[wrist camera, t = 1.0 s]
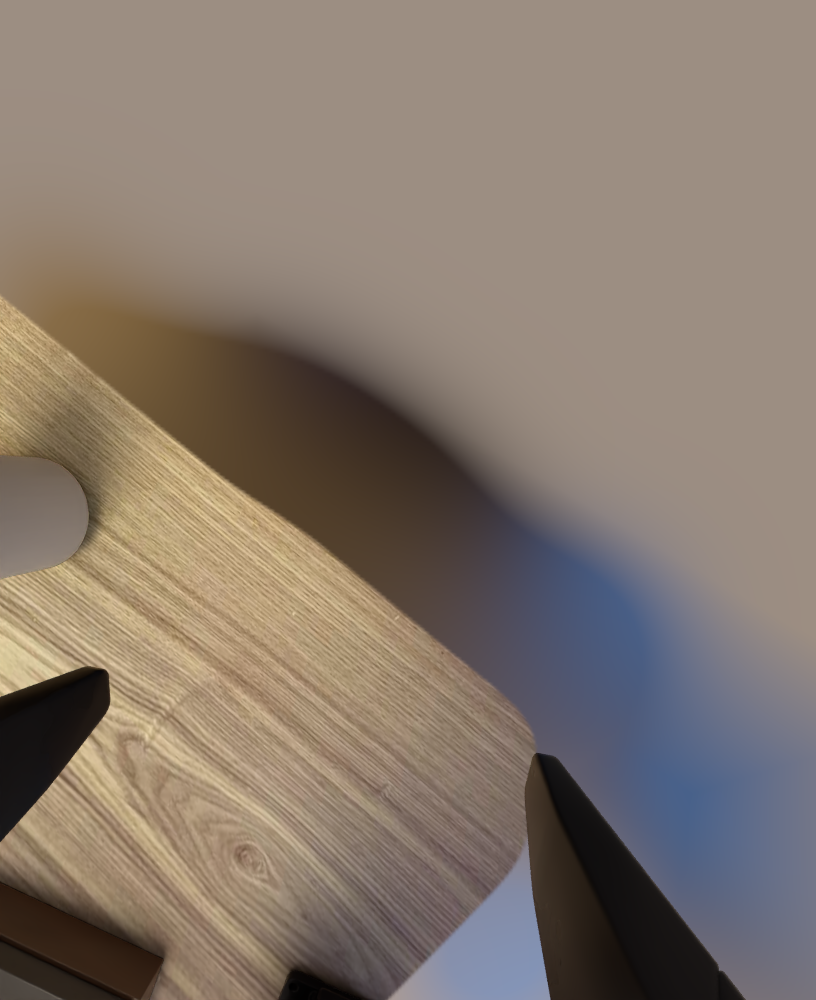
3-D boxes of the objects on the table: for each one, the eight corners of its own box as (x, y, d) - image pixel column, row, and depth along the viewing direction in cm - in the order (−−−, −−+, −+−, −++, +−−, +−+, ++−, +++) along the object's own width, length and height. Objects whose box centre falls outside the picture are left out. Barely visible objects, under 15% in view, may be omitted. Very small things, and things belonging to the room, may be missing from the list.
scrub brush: (139, 1028, 25) (98, 1102, 22) (-39, 942, 26) (-102, 1003, 23) (164, 958, 25) (126, 1024, 22) (-16, 874, 25) (-77, 926, 22)
